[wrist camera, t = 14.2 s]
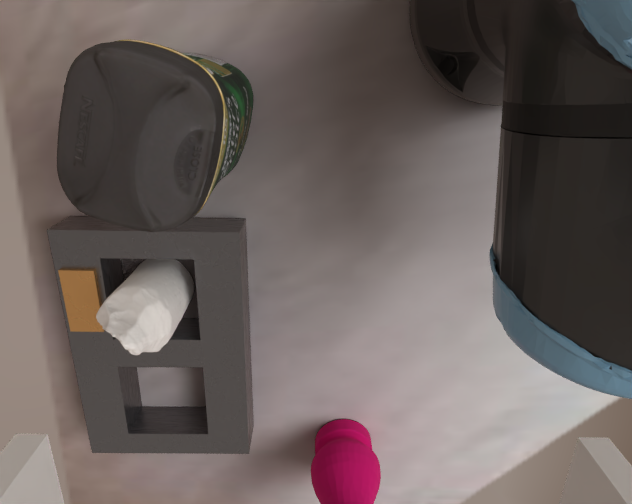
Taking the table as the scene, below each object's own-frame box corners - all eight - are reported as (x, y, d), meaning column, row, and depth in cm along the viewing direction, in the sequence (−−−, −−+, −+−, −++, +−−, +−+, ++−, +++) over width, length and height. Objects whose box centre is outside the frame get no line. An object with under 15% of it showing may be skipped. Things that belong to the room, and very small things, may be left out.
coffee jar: (238, 183, 41) (186, 263, 24) (150, 157, 40) (28, 221, 23) (266, 72, 38) (228, 70, 20) (170, 41, 37) (46, 12, 19)
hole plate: (245, 218, 42) (238, 234, 38) (253, 425, 51) (248, 456, 47) (70, 215, 42) (44, 231, 38) (108, 424, 51) (90, 455, 46)
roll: (63, 360, 33) (92, 302, 32) (125, 289, 45) (149, 242, 43) (139, 395, 35) (171, 340, 33) (181, 317, 46) (206, 273, 44)
